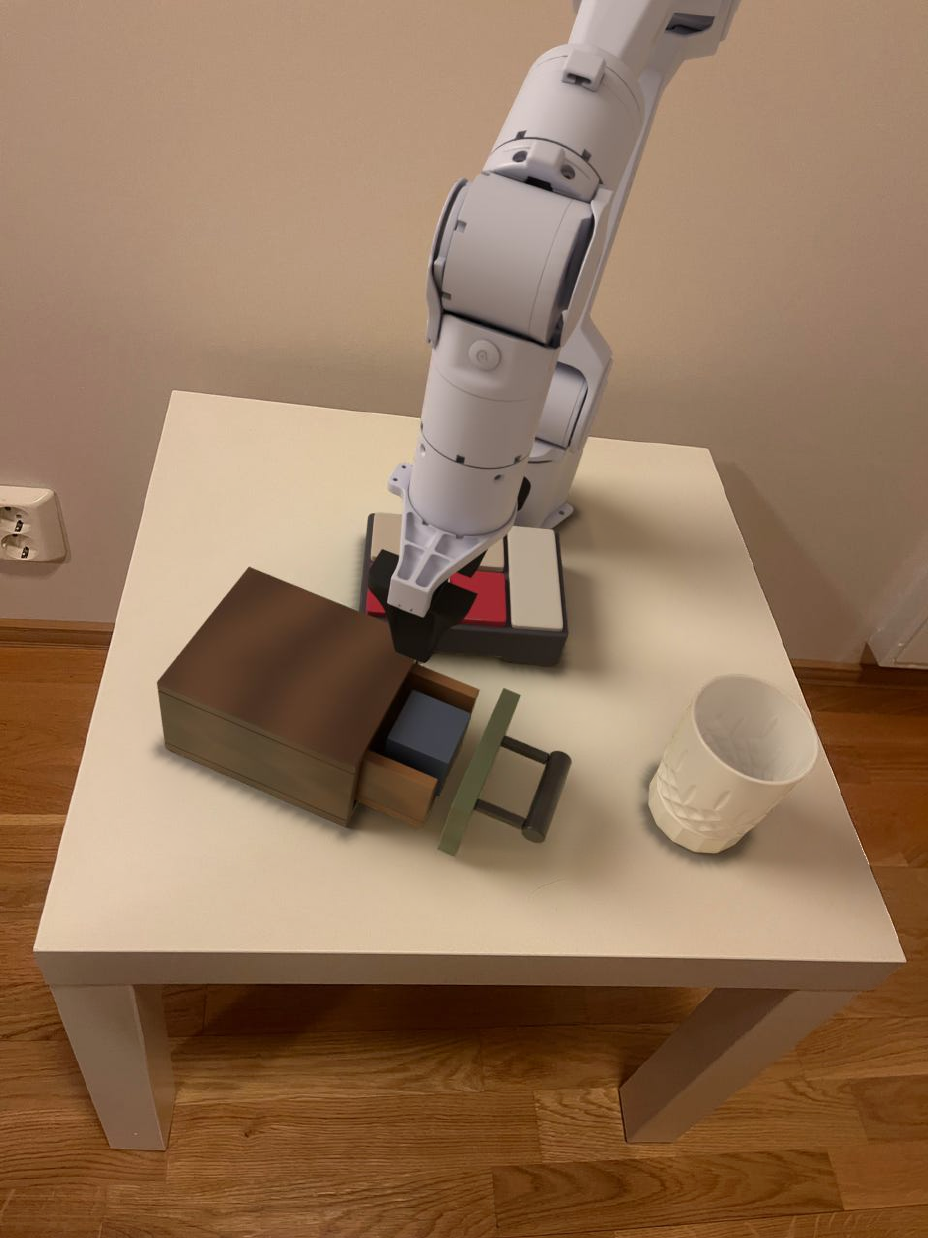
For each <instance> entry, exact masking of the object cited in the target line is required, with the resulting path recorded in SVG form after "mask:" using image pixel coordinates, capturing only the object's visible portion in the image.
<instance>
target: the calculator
mask: <svg viewBox="0 0 928 1238" xmlns="http://www.w3.org/2000/svg"><path fill="white" fill-rule="evenodd" d="M401 525H402V513H392V512H380V511H379V512H372V513H370V514H368V516H367V522H366V533H365V541H364V542H365V543H364V553H363V565H362V574H361V584H360V595H359V606H358V611H359V612H362V613H364V614H367V615H369V616H371V617H374V618H376V619H379V620H381V621H384V622H386V623H388V619H387V615H386V613H385V611H384V609H383V607H382V605H381V604H380V602H379V601H378V600H377V598H376V597H375V596H374V595H373V594H372V593H371V591H370V590H369V589H368V572H369V569H370V566H371V565H372V563H373V562H374V560H375V559H376V557H377V556H378V554H379V553H380V551H381V549H384V550H386V551H389V552H392V553H394V554H397V555H399V553H400V539H401ZM561 551H562V550H561V539H560V532H559V531H558V530H557V529H554V528H552V529H548V528H537V527H525V526H514V525H513V526H512V528H511V530H510V531H509V532H508V534H507V535H505V536H504V537H503V538H502V539H501V540H499V541H498V542H496V543H495V544H494V545H492V546H491V547H490V548H488V550H487V552H486V554H485V556H484V558H483V560H482V562H481V564H480V566H479V567H478V569H477V571H476V572H475V574H474V575H473V576H472V577H471V578H469V577H467V576H464V575H461V574H459V573H454V574H453V575H452V576H450V577H449V580H448V582H450V583H452V584H455V585H457V586H460V587H462V588H465V589H467V590H470V591H472V592H475V593H477V594H478V595H477V597H476V599H475V601H474V603H473V605H472V607H471V609H470V611H469V613H468V614H467V616H466V617H465V618H464V619H463V620H462V621H461V622H460V623H459V624H458V625H455V626H453V627H451V628H450V629H448V630H447V631H446V632H445V633H444V635H443V636H442V638H441V640H440V642H439V644H438V646H437V648H436V650H435V652H434V653H446V654H459V655H470V656H471V655H473V656H487V657H496V658H500V659H503V660H505V661H506V662H508V663H514V664H524V665H525V664H526V665H540V666H541V665H542V666H552V667H553V666H557V665H559V663H560V661H561V658H562V655H563V653H564V649H565V646H566V643H567V640H568V638H569V623H568V613H567V602H566V593H565V582H564V571H563V562H562V561H563V560H562V552H561Z"/></svg>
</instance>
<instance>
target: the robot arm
mask: <svg viewBox="0 0 928 1238" xmlns="http://www.w3.org/2000/svg"><path fill="white" fill-rule="evenodd" d="M741 3H742V0H571V10H572V12H573V14H574V15H575V16H576V18H575V20H574V23H573V26H572V28H571V32H570V36H569V39H568V42H567V43H565V44H560V45H557V46H555V47H552V48H550V49H548V50H546V51H545V52H544V53H542V54H541V55H540V56H539V57H537V58H536V60H534V62H533V63H532V65H531V66H530V68H529V70H528V72H527V74H526V76H525V78H524V79H523V82H522V85H521V86H520V90H519V91H518V94H517V96H516V98H515V100H514V102H513V103H512V106H511V108H510V110H509V112H508V114H507V116H506V119H505V121H504V123H503V125H502V127H501V129H500V131H499V134H498V136H497V138H496V140H495V142H494V144H493V146H492V148H491V151H490V153H489V154H488V157H487V159H486V162H485V164H484V166H483V167H482V170H481V172H479V173H478V174H477V175H476V177H475V178H474V180H472V181H471V180H470V181H469V180H468V179H467V178H466V177H463V176H462V177H459V178H458V179H457V181H455V183H454V184H453V186H452V187H451V189H450V191H449V193H448V195H447V197H446V199H445V202H444V205H443V207H442V209H441V211H440V215H439V217H438V220H437V224H436V227H435V229H434V230H435V231H434V235H433V237H432V243H431V247H430V253H429V259H428V264H427V272H426V278H425V279H426V281H425V299H426V303H427V309H428V311H427V322H426V327H425V328H426V329H425V336H424V338H425V342H426V343H427V344H429V347H431V348H432V350H431V355H430V356H431V357H430V362H429V368H428V372H427V373H428V374H427V379H426V386H425V390H424V391H425V392H424V398H423V403H422V408H421V415H420V421H419V427H418V433H417V438H416V444H415V450H414V455H413V462H412V464H411V463H409V462H401V463H398V464H397V465H396V466H395V467H394V469H393V471H392V472H391V473H390V475H389V476H388V479H387V487H386V489H387V490H388V492H389V493H391V494H392V495H395V496H398V497H400V499H401V500H402V511H401V514H402V525H401V539H400V553H399V555H397V554H394V553H392V552H389V551H386V550H384V549H381V551H380V553H379V554H378V556H377V557H376V559H375V560H374V562H373V563H372V565H371V566H370V569H369V572H368V589H369V590H370V591H371V593H372V594H373V595H374V596H375V597H376V598H377V600H378V601H379V602H380V604H381V605H382V607H383V609H384V611H385V613H386V615H387V619H388V623H389V627H390V632H391V637H392V642H393V646H394V650H395V652H397V653H400V654H402V655H405V656H407V657H409V658H412V659H414V660H417V661H419V662H421V663H422V664H426V663H428V662H429V660H431V658H432V656H433V655H434V653H436V652H435V650H436V648H437V646H438V644H439V642H440V640H441V638H442V636H443V635H444V633H445V632H446V631H447V630H448V629H450V628H451V627H453V626H455V625H458V624H459V623H460V622H461V621H462V620H463V619H464V618H465V617H466V616H467V614H468V613H469V611H470V609H471V607H472V605H473V603H474V601H475V599H476V597H477V595H478V594H477V593H475V592H472V591H470V590H467V589H465V588H462V587H460V586H457V585H455V584H452V583H450V582H448V580H449V577H450V576H452V575H453V574H454V573H459V574H461V575H464V576H467V577H469V578H471V577H472V576H473V575H474V574H475V572H476V571H477V569H478V567H479V566H480V564H481V562H482V560H483V558H484V556H485V554H486V552H487V550H488V548H490V547H491V546H492V545H494V544H495V543H496V542H498V541H499V540H501V539H502V538H503V537H504V536H505V535H507V534H508V532H509V531H510V530H511V528H512V526H513V525H514V526H525V527H537V528H548V529H554V528H555V527H557V526H558V525H559V524H560V523H562V522H563V521H564V520H566V519H567V518H568V517H570V516H571V515H572V514H573V512H574V507H573V506H572V505H571V504H570V503H568V501H567V499H568V497H569V494H570V491H571V488H572V485H573V482H574V479H575V477H576V474H577V471H578V468H579V465H580V462H581V459H582V458H583V453H584V449H585V447H586V445H587V441H588V439H589V437H590V434H591V432H592V428H593V426H594V422H595V420H596V417H597V415H598V412H599V409H600V407H601V403H602V400H603V398H604V395H605V392H606V389H607V386H608V383H609V381H608V378H609V375H610V372H611V369H612V367H613V364H614V360H613V359H614V358H612V356H613V350H612V348H611V346H610V345H609V343H608V342H607V340H606V339H605V338H604V336H603V335H602V334H603V333H601V331H600V330H599V329H598V327H597V326H596V324H595V323H594V321H593V320H592V317H591V312H592V309H593V306H594V303H595V300H596V297H597V294H598V292H599V291H598V290H599V288H600V285H601V282H602V278H603V276H604V272H605V271H606V266H607V263H608V260H609V257H610V255H611V251H612V249H613V245H614V243H615V239H616V236H617V233H618V231H619V227H620V224H621V220H622V219H623V215H624V212H625V208H626V205H627V203H628V199H629V197H630V195H631V190H632V188H633V184H634V181H635V178H636V175H637V172H638V169H639V167H640V164H641V163H640V162H641V160H642V158H643V155H644V151H645V148H646V145H647V141H648V139H649V136H650V133H651V130H652V127H653V123H654V122H655V121H654V120H655V117H656V114H657V111H658V108H659V105H660V102H661V99H662V97H663V94H664V92H665V90H666V88H667V87H668V85H669V84H670V82H671V81H672V80H673V78H674V77H675V75H676V73H677V72H678V71H679V69H680V67H681V66H682V65H683V63H684V62H686V61H689V60H694V59H700V58H708V57H712V56H715V55H716V53H717V52H718V50H719V49H718V48H719V45H720V43H722V42H724V41H725V40H726V39H727V36H728V34H729V31H730V28H731V25H732V23H733V19H734V17H735V15H736V13H737V12H738V10H739V8H740V5H741Z"/></svg>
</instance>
